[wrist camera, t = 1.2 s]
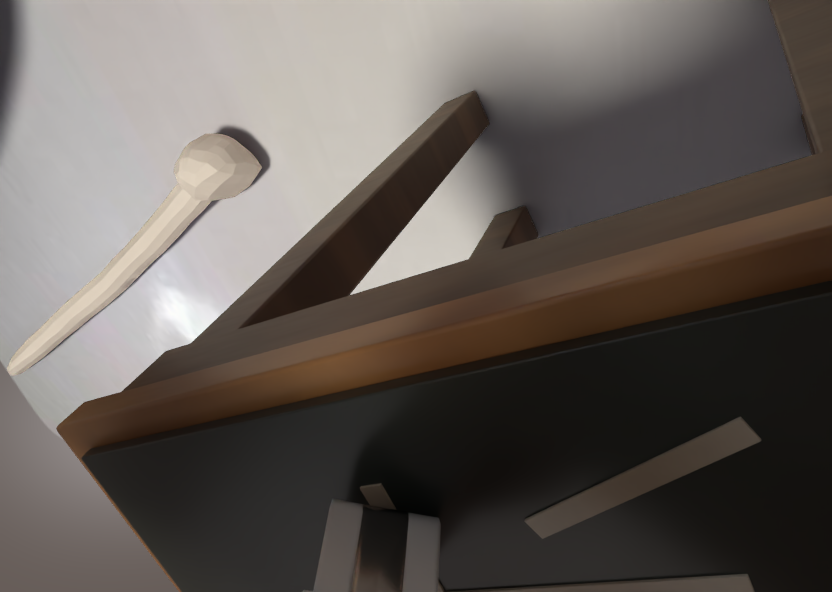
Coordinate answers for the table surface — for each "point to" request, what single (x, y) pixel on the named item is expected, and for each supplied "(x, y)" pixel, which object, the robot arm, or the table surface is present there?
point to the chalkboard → (517, 430)
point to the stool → (495, 223)
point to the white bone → (150, 236)
